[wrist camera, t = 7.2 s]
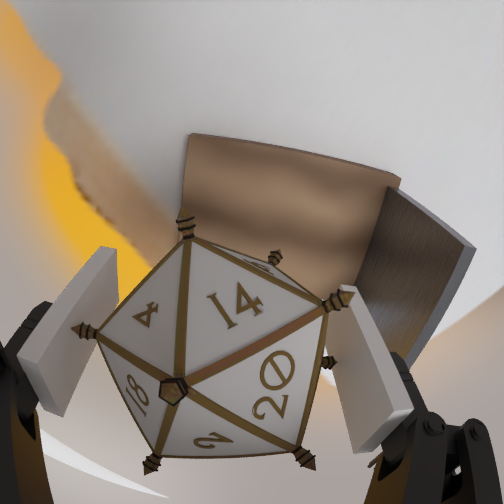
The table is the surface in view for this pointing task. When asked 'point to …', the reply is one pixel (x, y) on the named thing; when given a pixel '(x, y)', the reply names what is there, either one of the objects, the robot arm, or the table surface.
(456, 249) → the bookend
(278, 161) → the shelf plank
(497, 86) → the table surface
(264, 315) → the game die
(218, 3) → the table surface
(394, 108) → the table surface
